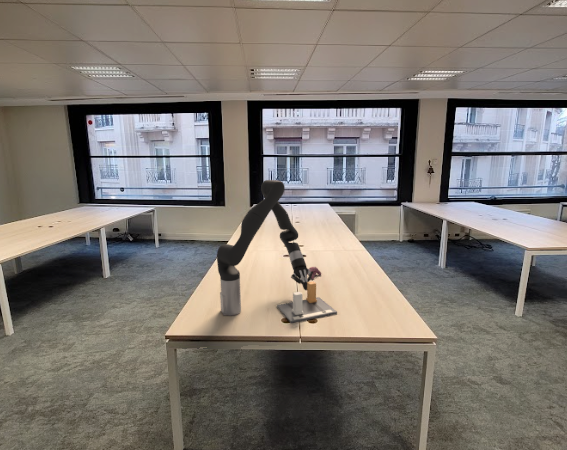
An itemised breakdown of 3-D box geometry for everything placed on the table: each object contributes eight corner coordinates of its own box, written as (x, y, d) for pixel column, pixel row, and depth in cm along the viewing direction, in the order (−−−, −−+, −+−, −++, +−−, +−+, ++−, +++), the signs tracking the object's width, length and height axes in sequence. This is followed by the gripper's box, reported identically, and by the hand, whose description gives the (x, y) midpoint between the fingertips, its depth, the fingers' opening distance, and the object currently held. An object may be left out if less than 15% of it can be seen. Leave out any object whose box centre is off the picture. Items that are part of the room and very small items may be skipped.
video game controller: (316, 276, 210) (313, 266, 210) (322, 274, 207) (318, 264, 208) (308, 280, 202) (304, 270, 203) (313, 279, 199) (309, 268, 200)
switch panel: (291, 323, 147) (291, 320, 147) (276, 306, 164) (276, 304, 163) (337, 313, 156) (337, 311, 156) (319, 298, 173) (319, 296, 172)
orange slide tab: (309, 303, 165) (310, 284, 163) (306, 299, 169) (306, 281, 167) (317, 301, 166) (317, 283, 164) (313, 298, 170) (313, 280, 168)
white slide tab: (295, 315, 152) (295, 295, 150) (291, 311, 156) (291, 292, 154) (303, 313, 154) (303, 294, 152) (299, 309, 157) (299, 290, 156)
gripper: (288, 258, 174) (297, 288, 166) (310, 255, 179) (320, 284, 171) (284, 265, 180) (293, 294, 172) (306, 262, 185) (315, 290, 177)
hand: (307, 289), depth 171 cm, fingers closed
